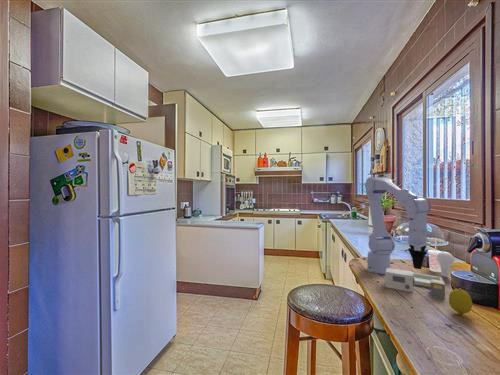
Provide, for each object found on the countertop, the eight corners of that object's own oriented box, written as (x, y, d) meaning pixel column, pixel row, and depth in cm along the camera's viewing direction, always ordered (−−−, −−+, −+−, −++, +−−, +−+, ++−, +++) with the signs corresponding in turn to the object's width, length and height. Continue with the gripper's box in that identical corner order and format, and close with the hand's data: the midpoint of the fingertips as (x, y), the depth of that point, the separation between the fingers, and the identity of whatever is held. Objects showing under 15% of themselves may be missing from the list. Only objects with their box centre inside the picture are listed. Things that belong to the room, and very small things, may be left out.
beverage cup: (428, 267, 122) (428, 238, 122) (444, 270, 118) (444, 240, 118) (426, 270, 117) (426, 241, 117) (443, 273, 113) (443, 242, 113)
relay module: (430, 296, 90) (430, 282, 90) (430, 292, 94) (430, 278, 94) (444, 299, 88) (444, 284, 88) (443, 294, 91) (443, 280, 91)
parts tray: (410, 284, 101) (410, 280, 101) (411, 276, 110) (411, 272, 110) (443, 290, 95) (443, 285, 95) (441, 281, 104) (441, 277, 104)
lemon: (466, 311, 79) (466, 286, 79) (476, 320, 74) (476, 293, 74) (445, 308, 81) (445, 284, 81) (453, 317, 76) (453, 290, 76)
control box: (385, 287, 98) (385, 272, 98) (387, 282, 103) (387, 267, 103) (414, 293, 93) (414, 277, 93) (414, 287, 98) (414, 272, 98)
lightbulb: (457, 279, 106) (457, 254, 106) (441, 278, 107) (441, 253, 107) (449, 274, 112) (449, 250, 112) (433, 274, 113) (433, 249, 113)
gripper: (431, 234, 87) (431, 273, 87) (429, 228, 99) (429, 262, 99) (407, 232, 91) (407, 269, 91) (408, 226, 103) (408, 259, 103)
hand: (417, 265), depth 95 cm, fingers open, 7 cm apart
